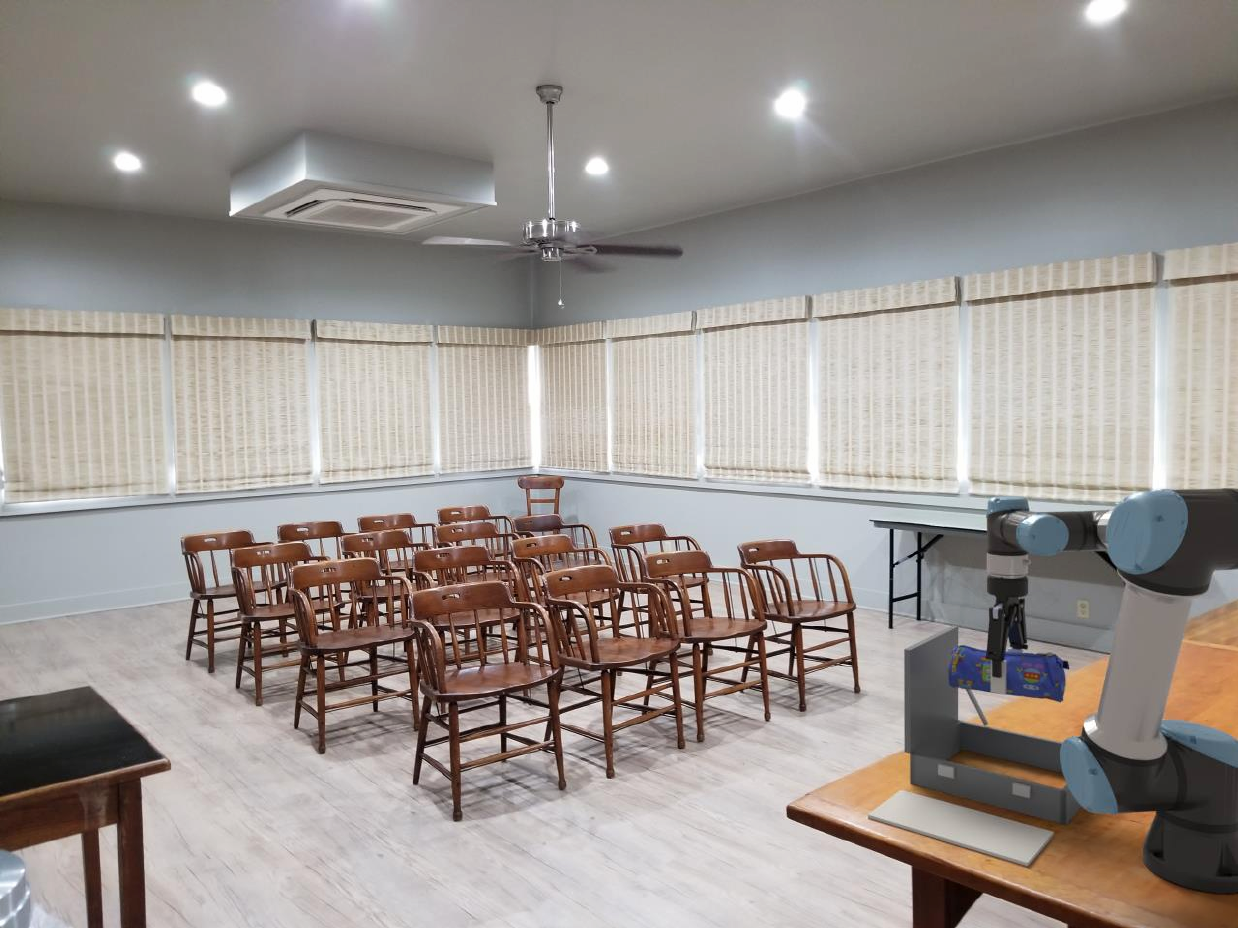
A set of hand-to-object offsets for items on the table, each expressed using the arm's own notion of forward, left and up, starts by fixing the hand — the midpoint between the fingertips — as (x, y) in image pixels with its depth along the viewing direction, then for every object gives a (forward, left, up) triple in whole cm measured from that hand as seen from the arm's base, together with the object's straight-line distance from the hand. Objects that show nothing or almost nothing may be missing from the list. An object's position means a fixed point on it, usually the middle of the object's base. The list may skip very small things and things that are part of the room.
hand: (1007, 686), depth 179 cm
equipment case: (0, 0, -19) cm, 19 cm away
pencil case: (0, 0, -2) cm, 2 cm away
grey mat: (-25, 0, -19) cm, 32 cm away
